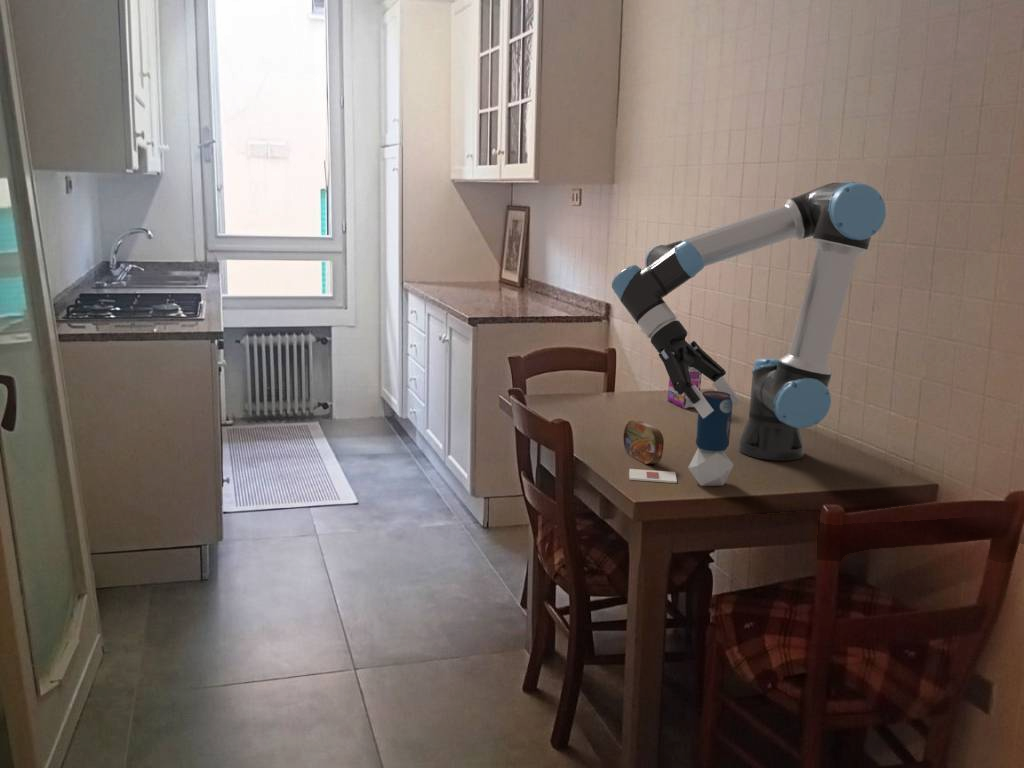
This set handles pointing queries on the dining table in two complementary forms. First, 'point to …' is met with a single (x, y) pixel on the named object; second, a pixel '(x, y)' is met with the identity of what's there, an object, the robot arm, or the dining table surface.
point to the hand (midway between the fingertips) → (722, 409)
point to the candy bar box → (683, 399)
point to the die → (710, 468)
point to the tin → (643, 442)
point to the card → (652, 475)
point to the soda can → (715, 423)
